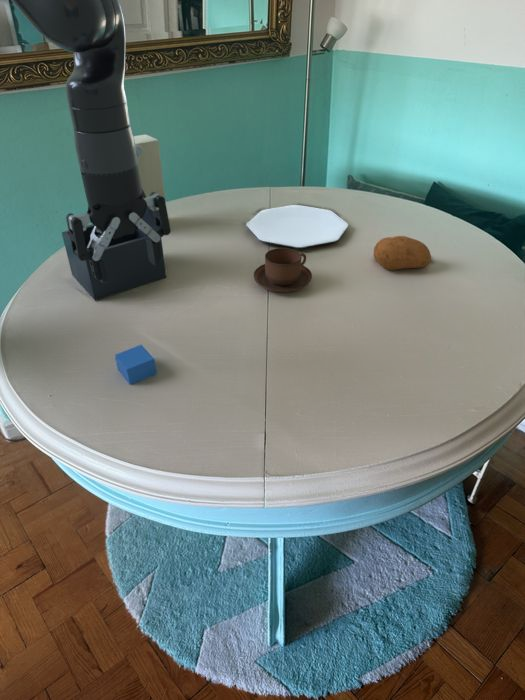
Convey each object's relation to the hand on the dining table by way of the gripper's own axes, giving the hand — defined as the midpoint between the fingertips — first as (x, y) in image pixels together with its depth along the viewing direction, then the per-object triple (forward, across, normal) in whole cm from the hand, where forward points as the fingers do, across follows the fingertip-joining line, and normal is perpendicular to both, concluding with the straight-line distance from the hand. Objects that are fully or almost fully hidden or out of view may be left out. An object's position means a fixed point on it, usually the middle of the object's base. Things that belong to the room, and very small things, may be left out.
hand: (129, 271), depth 78 cm
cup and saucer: (+17, -35, -5) cm, 39 cm away
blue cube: (+16, +3, +4) cm, 17 cm away
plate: (+17, -54, -23) cm, 61 cm away
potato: (+17, -59, +5) cm, 62 cm away
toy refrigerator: (+17, -26, -48) cm, 57 cm away
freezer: (+16, -9, -29) cm, 34 cm away
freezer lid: (-2, -14, -29) cm, 32 cm away
